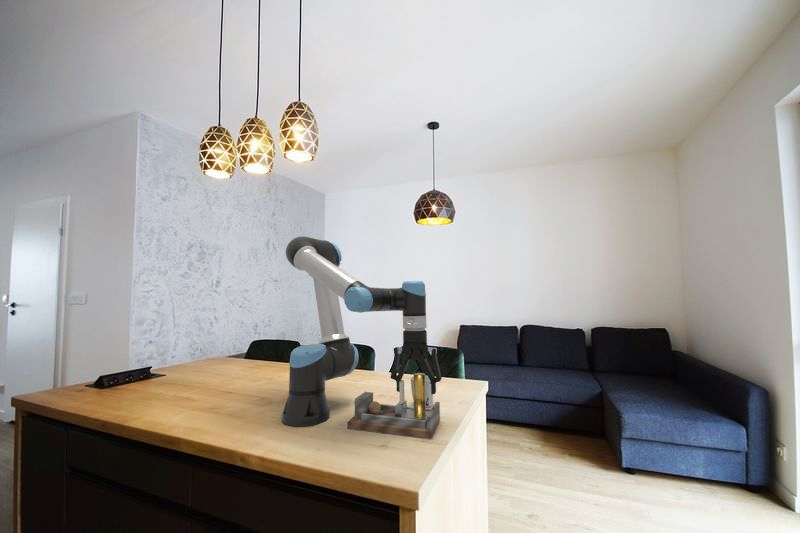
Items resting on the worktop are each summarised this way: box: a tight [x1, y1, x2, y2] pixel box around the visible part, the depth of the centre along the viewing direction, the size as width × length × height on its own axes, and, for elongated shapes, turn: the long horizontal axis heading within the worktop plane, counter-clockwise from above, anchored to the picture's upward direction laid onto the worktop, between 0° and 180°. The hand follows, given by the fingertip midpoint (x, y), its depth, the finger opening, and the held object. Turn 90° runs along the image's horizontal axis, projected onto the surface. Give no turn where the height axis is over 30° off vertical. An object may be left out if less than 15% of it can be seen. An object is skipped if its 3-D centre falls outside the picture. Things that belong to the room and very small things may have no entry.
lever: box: [395, 372, 430, 426], centre depth 98 cm, size 10×8×14 cm
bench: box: [346, 391, 441, 440], centre depth 99 cm, size 26×14×8 cm, turn 73°
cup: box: [410, 375, 430, 409], centre depth 117 cm, size 8×8×10 cm
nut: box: [369, 400, 381, 415], centre depth 101 cm, size 4×4×4 cm
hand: (416, 403), depth 97 cm, fingers open, 8 cm apart
